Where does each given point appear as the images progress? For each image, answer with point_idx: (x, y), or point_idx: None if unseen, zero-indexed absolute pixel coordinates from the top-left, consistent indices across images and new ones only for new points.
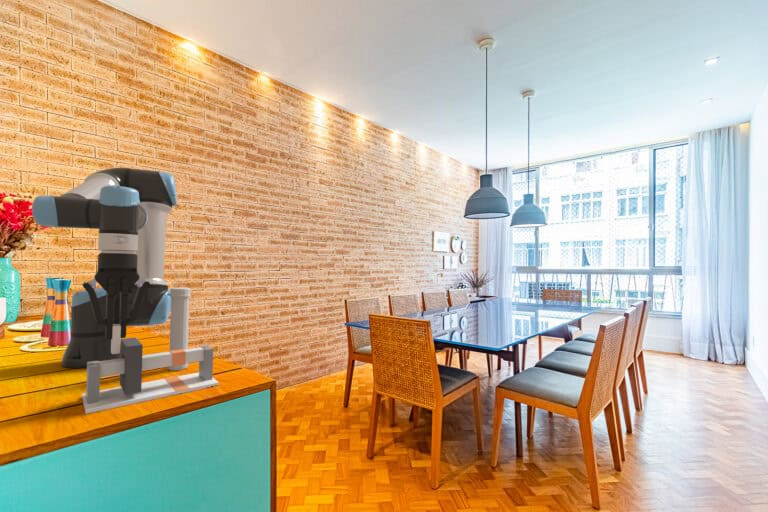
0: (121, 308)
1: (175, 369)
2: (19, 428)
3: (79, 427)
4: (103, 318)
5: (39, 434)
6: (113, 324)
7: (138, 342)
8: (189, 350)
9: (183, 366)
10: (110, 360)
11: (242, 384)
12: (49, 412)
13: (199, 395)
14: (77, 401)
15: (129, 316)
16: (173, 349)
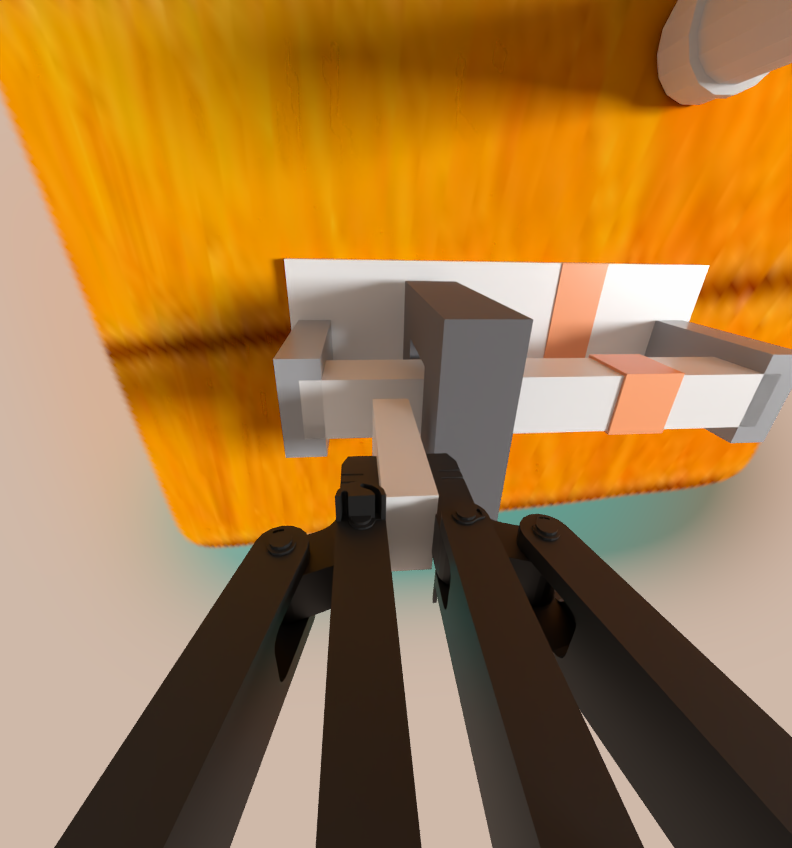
0: (469, 719)
1: (670, 96)
2: (166, 438)
3: (296, 507)
4: (314, 585)
5: (222, 499)
6: (394, 505)
7: (495, 486)
8: (689, 410)
9: (712, 99)
10: (369, 394)
11: (685, 455)
12: (210, 358)
13: (562, 469)
14: (275, 299)
15: (521, 579)
16: (774, 24)
